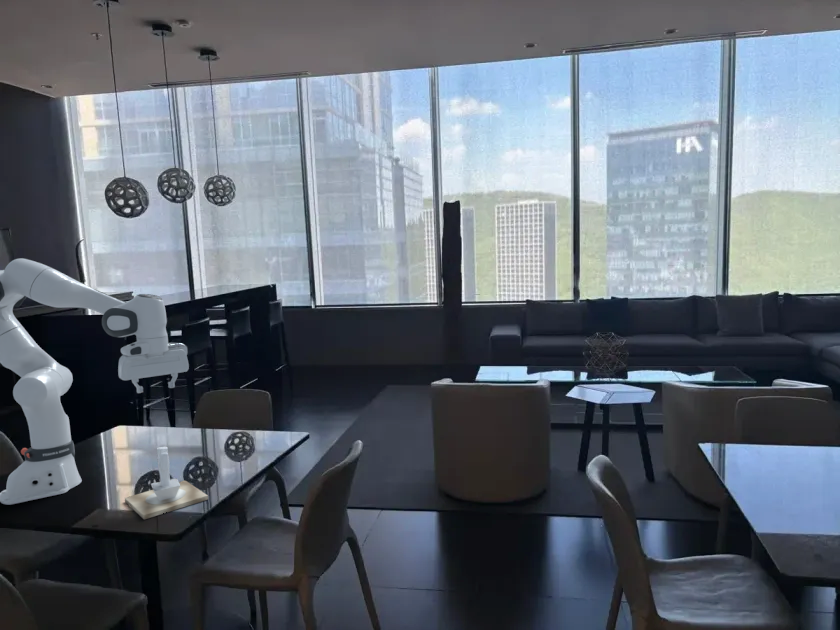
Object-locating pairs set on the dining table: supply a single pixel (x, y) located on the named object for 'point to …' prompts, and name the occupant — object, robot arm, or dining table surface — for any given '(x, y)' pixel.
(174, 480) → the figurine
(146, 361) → the robot arm
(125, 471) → the dining table surface
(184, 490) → the oak board
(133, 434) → the dining table surface
